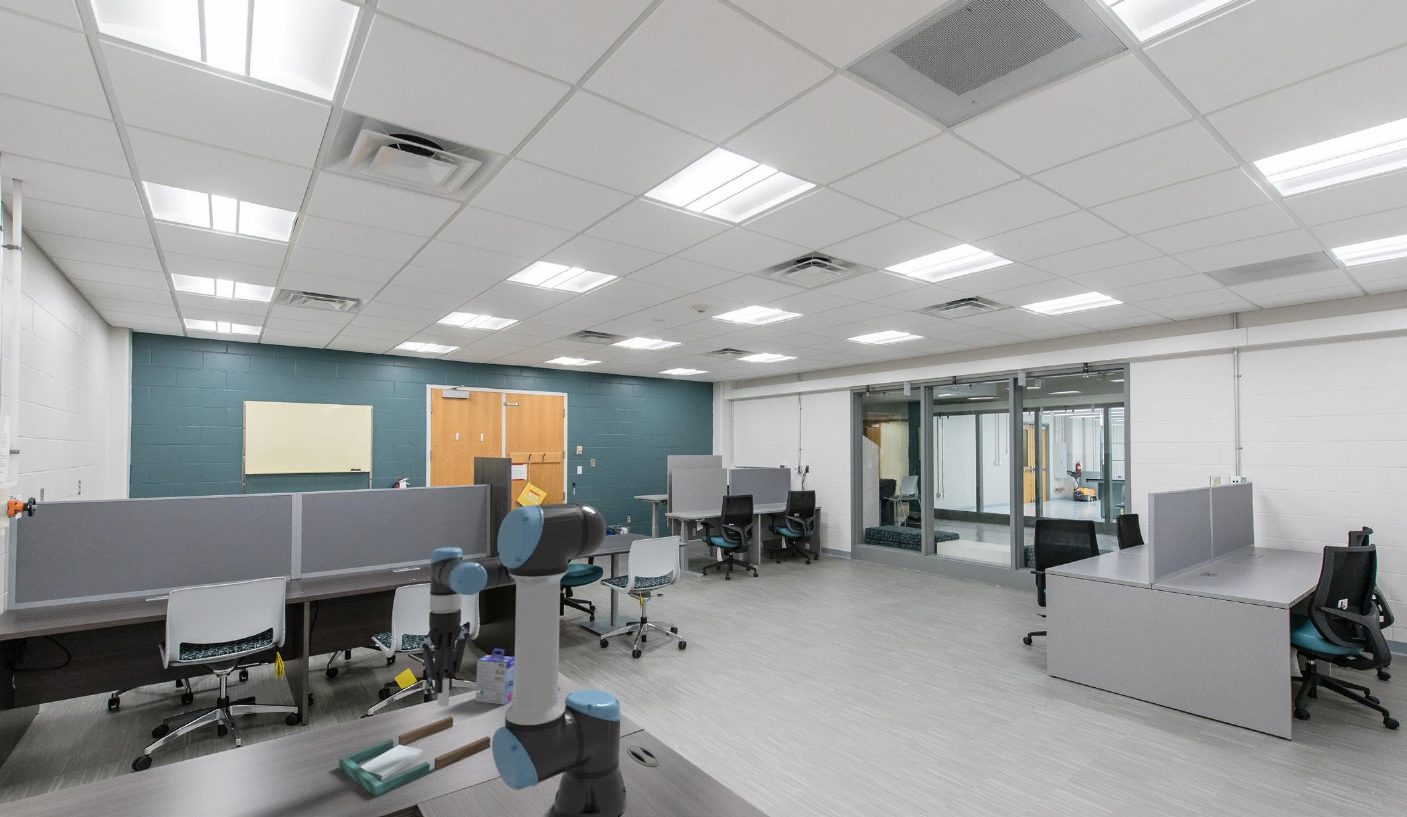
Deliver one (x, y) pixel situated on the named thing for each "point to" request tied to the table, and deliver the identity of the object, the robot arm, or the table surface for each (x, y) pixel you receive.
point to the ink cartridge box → (495, 678)
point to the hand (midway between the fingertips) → (442, 704)
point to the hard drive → (391, 761)
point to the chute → (381, 787)
